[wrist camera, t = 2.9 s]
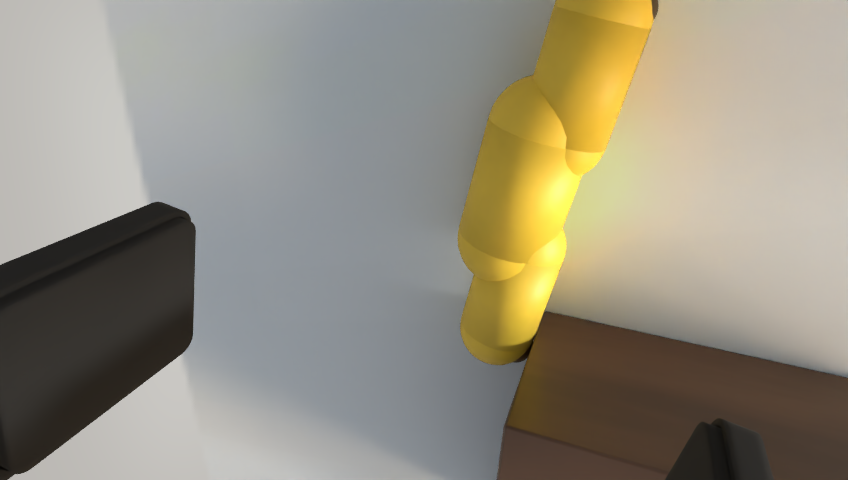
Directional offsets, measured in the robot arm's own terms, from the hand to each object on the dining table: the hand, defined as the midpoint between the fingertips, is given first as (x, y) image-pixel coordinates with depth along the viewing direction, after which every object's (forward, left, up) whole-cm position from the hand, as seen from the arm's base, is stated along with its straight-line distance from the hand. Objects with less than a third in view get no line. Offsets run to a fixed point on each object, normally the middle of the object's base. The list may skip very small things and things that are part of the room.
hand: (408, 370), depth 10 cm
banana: (0, 0, -12) cm, 12 cm away
